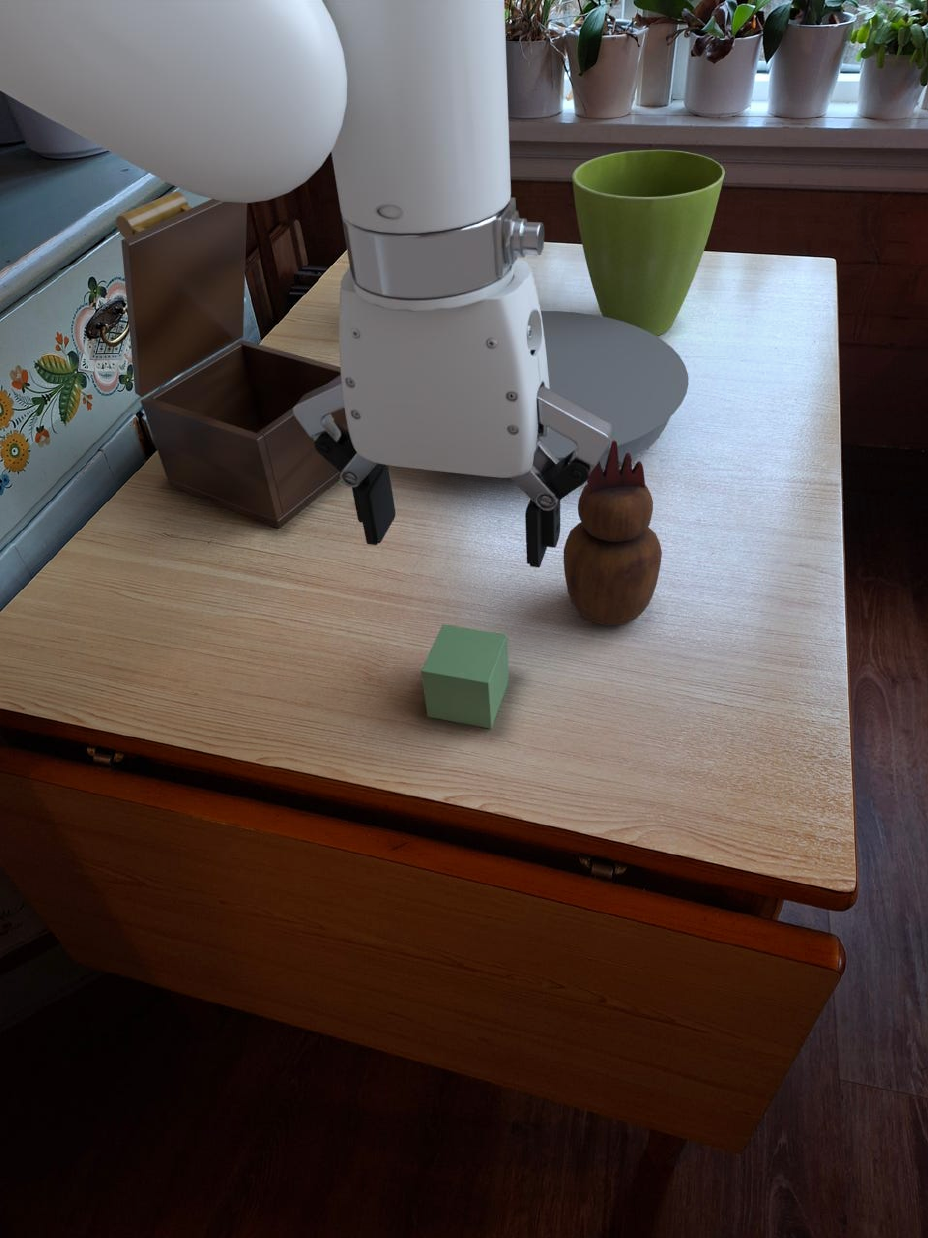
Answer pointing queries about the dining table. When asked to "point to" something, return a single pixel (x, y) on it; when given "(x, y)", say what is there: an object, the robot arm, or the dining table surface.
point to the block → (466, 676)
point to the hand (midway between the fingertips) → (458, 541)
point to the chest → (244, 432)
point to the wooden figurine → (613, 545)
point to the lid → (182, 284)
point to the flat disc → (612, 378)
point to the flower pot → (645, 230)
